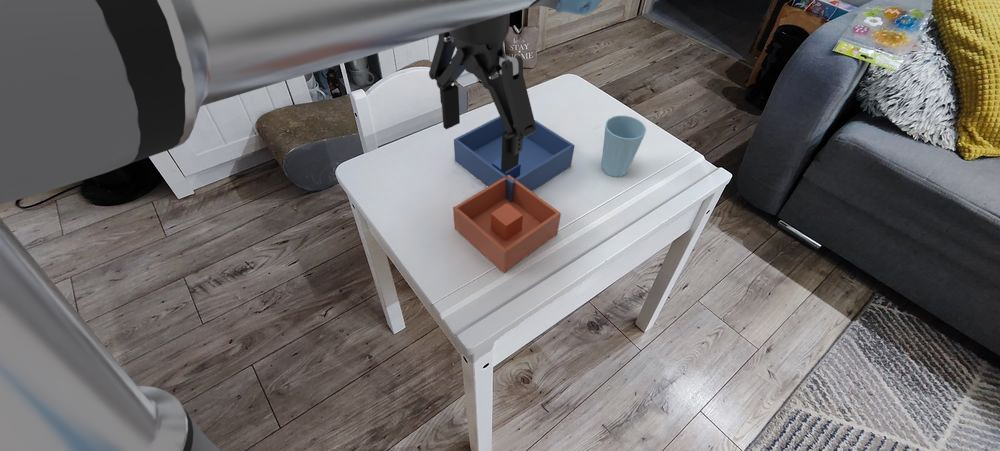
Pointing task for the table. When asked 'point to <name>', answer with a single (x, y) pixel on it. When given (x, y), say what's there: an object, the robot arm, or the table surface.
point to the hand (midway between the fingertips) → (479, 145)
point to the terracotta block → (506, 221)
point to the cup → (621, 144)
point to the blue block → (513, 172)
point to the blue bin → (537, 158)
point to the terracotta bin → (476, 228)
